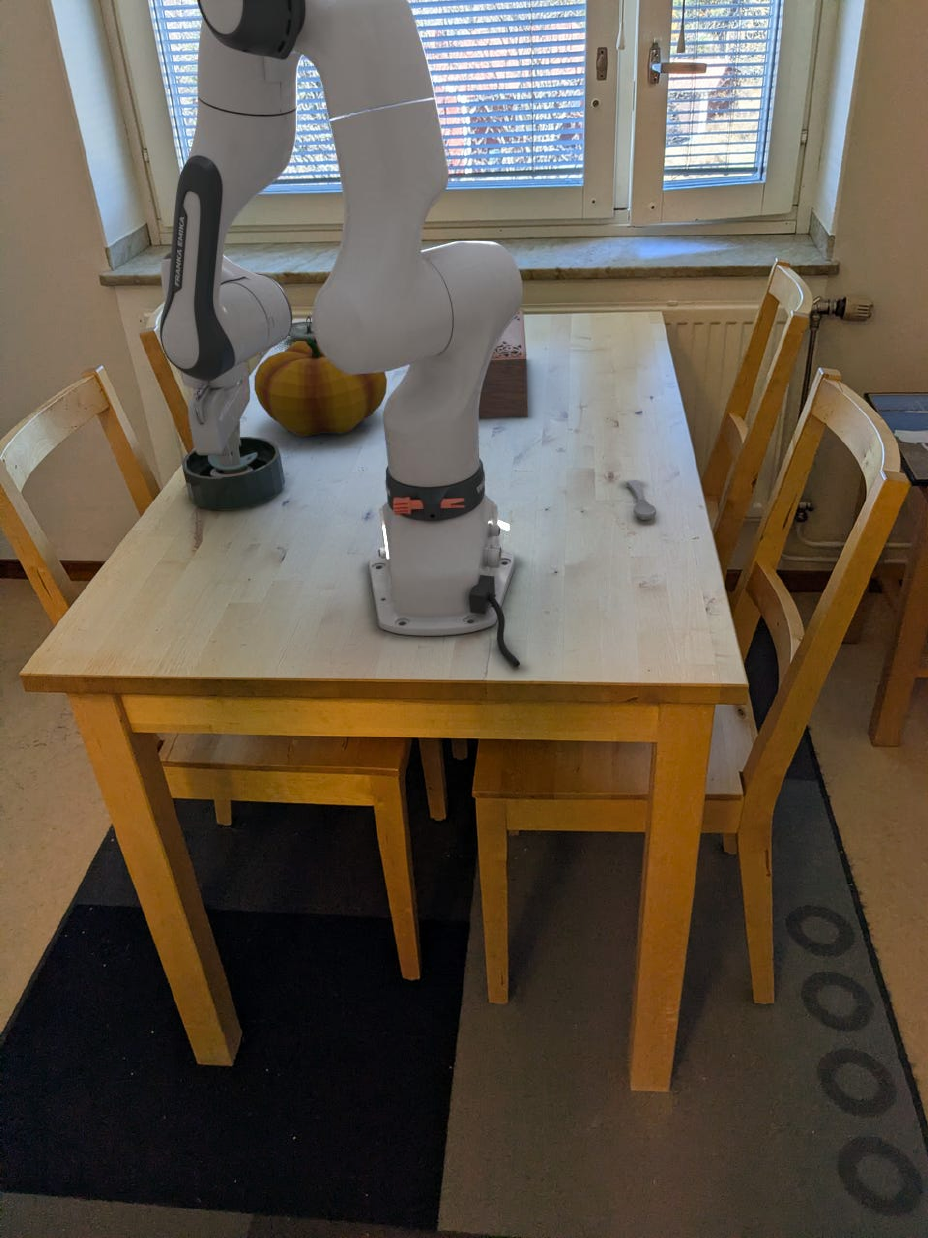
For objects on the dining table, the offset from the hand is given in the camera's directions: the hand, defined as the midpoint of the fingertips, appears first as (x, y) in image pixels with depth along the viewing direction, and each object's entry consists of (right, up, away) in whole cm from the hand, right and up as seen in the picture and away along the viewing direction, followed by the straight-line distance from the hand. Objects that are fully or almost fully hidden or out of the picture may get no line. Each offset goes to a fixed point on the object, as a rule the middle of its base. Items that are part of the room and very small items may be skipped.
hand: (231, 456), depth 145 cm
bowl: (0, -5, +3) cm, 6 cm away
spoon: (+59, -8, -7) cm, 60 cm away
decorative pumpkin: (+11, +9, +22) cm, 26 cm away
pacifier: (0, -2, +1) cm, 2 cm away
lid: (+3, +34, +59) cm, 68 cm away
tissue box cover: (+38, +17, +31) cm, 52 cm away
